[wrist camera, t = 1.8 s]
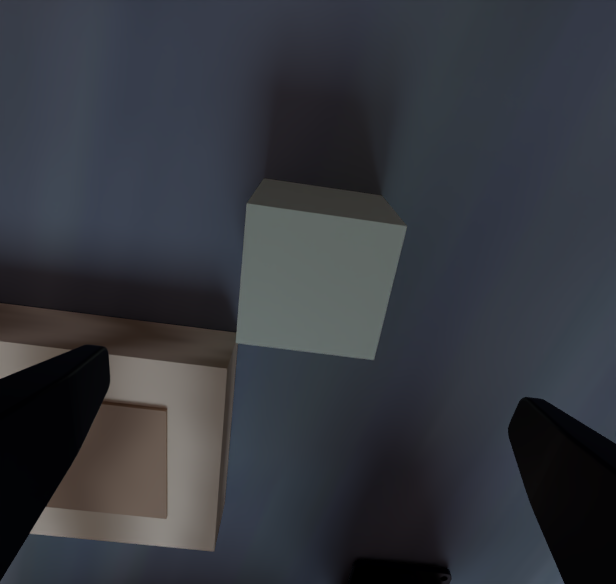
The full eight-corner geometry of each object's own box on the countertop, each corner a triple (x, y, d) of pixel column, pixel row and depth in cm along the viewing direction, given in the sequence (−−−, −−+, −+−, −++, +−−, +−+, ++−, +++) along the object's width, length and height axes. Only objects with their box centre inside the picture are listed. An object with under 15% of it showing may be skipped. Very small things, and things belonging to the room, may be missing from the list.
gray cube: (381, 195, 17) (407, 226, 13) (359, 300, 19) (373, 360, 15) (264, 178, 17) (246, 203, 12) (253, 286, 19) (235, 343, 14)
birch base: (238, 333, 20) (226, 371, 17) (224, 502, 25) (213, 555, 22) (-15, 301, 19) (-73, 335, 16) (22, 481, 24) (-18, 533, 21)
